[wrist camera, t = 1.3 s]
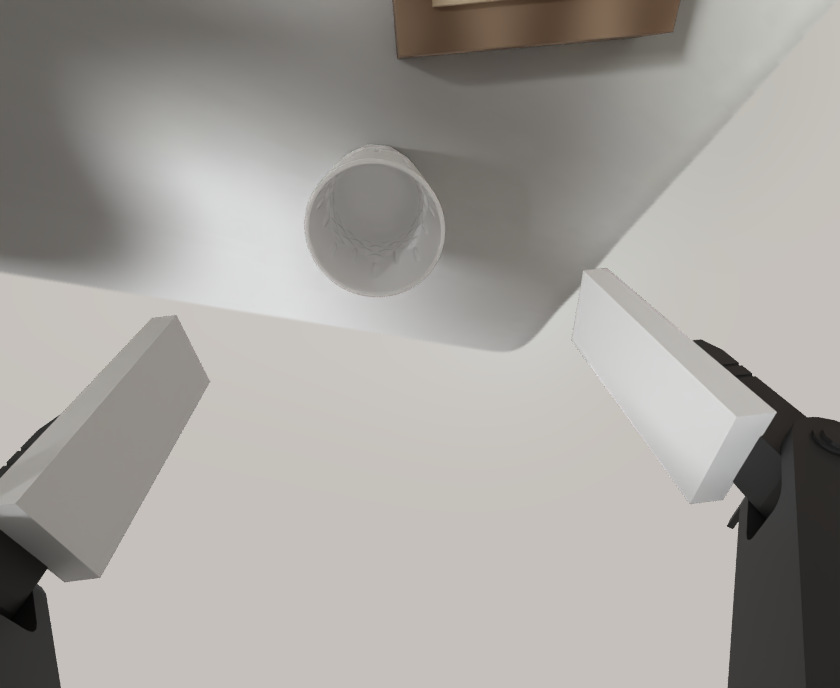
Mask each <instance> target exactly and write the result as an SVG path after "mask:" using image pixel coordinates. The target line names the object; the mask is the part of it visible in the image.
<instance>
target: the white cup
mask: <svg viewBox="0 0 840 688" xmlns="http://www.w3.org/2000/svg"><path fill="white" fill-rule="evenodd" d="M304 230H305V238H306V242H307V246H308V249H309V251H310V254H311V256H312V258H313V260H314V261H315V263H316V264H317V266H318V267H319V269H320V270H321V271H322V272H323V273H324V274H325V275H326V276H327V277H328V278H329V279H330V280H331V281H332V282H334V283H335V284H337V285H338V286H340V287H342V288H343V289H345V290H347V291H350V292H352V293H355V294H359V295H363V296H370V297H385V296H392V295H396V294H399V293H402V292H404V291H407V290H409V289H411V288H412V287H414V286H416V285H417V284H418V283H420V282H421V281H422V280H423V279H424V278H426V276H427V275H428V274H429V273H430V272H431V271H432V269H433V268H434V267H435V265H436V263H437V261H438V259H439V257H440V255H441V252H442V249H443V245H444V240H445V221H444V215H443V211H442V208H441V205H440V203H439V200H438V198H437V197H436V195H435V193H434V192H433V190H432V189H431V187H430V186H429V184H428V183H427V181H426V180H425V179H424V177H423V176H422V174H421V173H420V171H419V170H418V169H417V168H416V167H415V165H414V164H413V163H412V162H411V161H410V160H409V159H408V158H407V157H406V156H404V155H403V154H401V153H399V152H398V151H396V150H395V149H393V148H392V147H390V146H384V145H373V144H367V145H365V146H363V147H360V148H358V149H356V150H354V151H351V152H349V153H348V154H347V155H346V156H344V157H343V158H342V159H341V160H340V161H339V162H337V163H336V164H335V165H334V167H333V168H332V169H331V170H330V171H329V172H328V174H327V175H326V176H325V177H324V178H323V179H322V180H321V181H320V183H319V184H318V185H317V187H316V188H315V190H314V191H313V193H312V195H311V197H310V199H309V202H308V205H307V208H306V213H305V220H304Z"/></svg>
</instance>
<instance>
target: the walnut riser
mask: <svg viewBox="0 0 840 688" xmlns="http://www.w3.org/2000/svg"><path fill="white" fill-rule="evenodd" d="M392 2H393V14H394V25H395V37H396V48H397V59H400V58H411V57H423V56H434V55H445V54H456V53H468V52H479V51H490V50H501V49H512V48H524V47H535V46H546V45H557V44H569V43H580V42H591V41H602V40H613V39H625V38H636V37H642V36H649V35H656V34H662V33H669V32H673V29H674V25H675V21H676V16H677V12H678V8H679V3H680V0H392Z"/></svg>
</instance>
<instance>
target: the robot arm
mask: <svg viewBox="0 0 840 688" xmlns="http://www.w3.org/2000/svg"><path fill="white" fill-rule="evenodd" d="M572 342H573V343H574V345H575V346H576V347H577V349H578V350H579V351H580V353H581V354H582V356H583V357H584V358H585V360H586V361H587V363H588V364H589V365H590V367H591V368H592V370H593V371H594V372H595V374H596V375H597V376H598V378H599V379H600V380H601V382H602V383H603V385H604V386H605V387H606V389H607V390H608V391H609V393H610V394H611V396H612V397H613V399H614V400H615V401H616V403H617V404H618V405H619V407H620V408H621V410H622V411H623V412H624V414H625V415H626V416H627V418H628V419H629V421H630V422H631V423H632V425H633V426H634V428H635V429H636V430H637V432H638V433H639V434H640V436H641V437H642V439H643V440H644V441H645V443H646V444H647V446H648V447H649V448H650V450H651V451H652V452H653V454H654V455H655V457H656V458H657V459H658V461H659V462H660V463H661V465H662V466H663V468H664V469H665V470H666V472H667V473H668V474H669V476H670V477H671V478H672V480H673V481H674V483H675V484H676V486H677V487H678V488H679V490H680V491H681V492H682V494H683V495H684V497H685V498H686V499H687V501H688V502H689V504H694V503H702V502H710V501H717V500H723V499H724V498H725V496H726V494H727V493H728V491H729V489H730V488H731V486H732V484H733V483H734V484H735V485H736V486H737V487H738V488H739V489H740V491H741V492H742V493H743V494H744V495H745V498H744V499H743V501H742V502H741V504H740V505H739V507H738V509H737V510H736V511H735V513H734V514H733V516H732V518H731V519H730V521H729V523H728V525H727V527H729V528H732V529H733V528H734V527H735V525H736V524H737V522H739V528H738V543H737V558H736V573H735V589H734V602H733V618H732V632H731V633H732V634H731V648H730V662H729V677H728V688H840V422H837V421H835V420H830V419H825V418H819V417H809V418H808V417H806V416H804V415H803V414H802V413H801V412H799V411H798V410H797V409H796V408H794V407H793V406H792V405H791V404H790V403H788V402H787V401H786V400H785V399H783V398H782V397H781V396H779V395H778V394H777V393H776V392H775V391H773V390H772V389H771V388H769V387H768V386H767V385H766V384H764V383H763V382H762V381H761V380H759V379H758V378H757V377H753V376H752V373H751V372H750V371H748V370H747V369H746V368H744V367H743V366H739V363H738V362H737V361H736V360H734V359H733V358H732V357H731V356H729V355H728V354H727V353H726V352H724V351H723V350H722V349H720V348H718V347H715V346H713V345H711V344H709V343H707V342H705V341H703V340H691V339H690V338H689V337H688V336H686V335H685V334H684V333H683V332H682V331H680V330H679V329H678V328H677V327H676V326H674V325H673V324H672V323H671V322H670V321H668V320H667V319H666V318H665V317H664V316H663V315H662V314H660V313H659V312H658V311H657V310H656V309H654V308H653V307H652V306H651V305H650V304H648V303H647V302H646V301H645V300H644V299H643V298H641V297H640V296H639V295H638V294H637V293H636V292H634V291H633V290H632V289H631V288H630V287H628V286H627V285H626V284H625V283H624V282H623V281H621V280H620V279H619V278H618V277H617V276H615V275H614V274H613V273H612V272H611V271H610V270H608V269H607V268H602V269H592V270H583V276H582V282H581V287H580V293H579V299H578V306H577V311H576V317H575V322H574V328H573V334H572ZM209 383H210V381H209V379H208V377H207V375H206V373H205V371H204V369H203V367H202V365H201V363H200V361H199V359H198V357H197V355H196V353H195V351H194V349H193V347H192V345H191V343H190V341H189V339H188V337H187V335H186V333H185V331H184V329H183V327H182V325H181V323H180V321H179V320H178V317H177V316H176V315H174V316H165V317H156V318H152V319H151V320H150V321H149V322H148V323H147V324H146V325H145V326H144V327H143V328H142V329H141V330H140V331H139V332H138V333H137V334H136V335H135V337H134V338H133V339H132V340H131V341H130V342H129V343H128V344H127V345H126V346H125V347H124V348H123V349H122V350H121V351H120V352H119V353H118V354H117V356H116V357H115V358H114V359H113V360H112V361H111V362H110V363H109V364H108V365H107V366H106V367H105V368H104V369H103V370H102V371H101V372H100V373H99V375H98V376H97V377H96V378H95V379H94V380H93V381H92V382H91V383H90V384H89V385H88V386H87V387H86V388H85V389H84V390H83V391H82V392H81V394H80V395H79V396H78V397H77V398H76V399H75V400H74V401H73V402H72V403H71V404H70V405H69V406H68V407H67V408H66V409H65V411H63V412H62V414H60V415H59V416H58V417H56V418H55V419H53V420H52V421H50V422H49V423H48V424H46V425H45V426H43V427H42V428H40V429H39V430H38V431H37V432H36V433H35V434H34V435H33V436H32V437H31V438H30V439H29V440H28V441H27V442H26V443H25V444H24V445H23V446H22V447H21V451H17V452H16V453H15V454H14V455H13V456H12V457H11V459H9V460H8V461H7V466H3V467H2V468H1V469H0V688H61V687H60V680H59V674H58V667H57V661H56V655H55V648H54V642H53V636H52V629H51V623H50V616H49V610H48V604H47V598H46V593H45V592H44V590H43V589H42V587H40V586H39V585H38V584H37V583H38V582H39V580H40V579H41V577H42V576H43V574H44V573H45V571H46V570H47V569H49V570H50V571H51V572H53V573H54V574H55V575H56V576H57V577H59V578H60V579H61V580H62V581H64V582H70V581H77V580H86V579H94V578H100V577H101V575H102V573H103V572H104V570H105V568H106V566H107V565H108V563H109V561H110V559H111V558H112V556H113V554H114V552H115V550H116V549H117V547H118V545H119V543H120V542H121V540H122V538H123V536H124V534H125V533H126V531H127V529H128V527H129V525H130V524H131V522H132V520H133V518H134V516H135V515H136V513H137V511H138V509H139V507H140V506H141V504H142V502H143V500H144V499H145V497H146V495H147V493H148V491H149V490H150V488H151V486H152V484H153V483H154V481H155V479H156V477H157V475H158V474H159V472H160V470H161V468H162V466H163V464H164V463H165V461H166V459H167V458H168V456H169V454H170V452H171V450H172V448H173V447H174V445H175V443H176V441H177V440H178V438H179V436H180V434H181V433H182V430H183V429H184V427H185V425H186V424H187V422H188V420H189V418H190V416H191V415H192V413H193V411H194V409H195V408H196V406H197V404H198V402H199V400H200V399H201V397H202V395H203V393H204V391H205V389H206V388H207V386H208V384H209Z"/></svg>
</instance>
